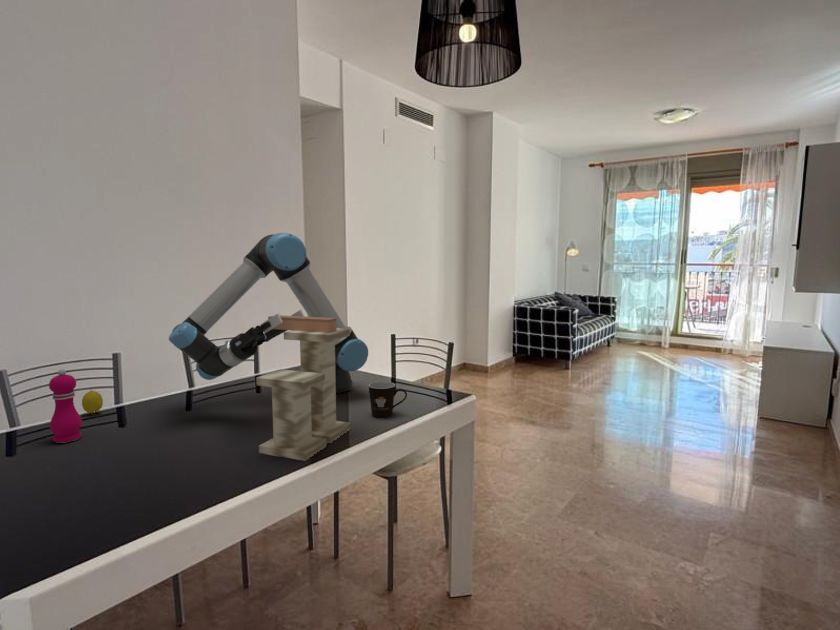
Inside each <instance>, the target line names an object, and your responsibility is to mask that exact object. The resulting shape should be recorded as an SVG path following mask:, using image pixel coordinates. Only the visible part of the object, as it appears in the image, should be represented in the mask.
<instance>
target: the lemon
mask: <svg viewBox="0 0 840 630" xmlns="http://www.w3.org/2000/svg"><path fill="white" fill-rule="evenodd" d="M103 404H104V400H103V396H102V395H101V393H100V392H98V391H95V390H92V389H90V390H89V391H88V392H86V393H85V394H84V395H83V396H82V400H81V406H82V409H83V410H84V411H85V412H86V413H89V414H91V413H95V412H94V411H96V413H97V412H99V411H100V410H101V409H102V408H103ZM96 413H95V414H96Z"/></svg>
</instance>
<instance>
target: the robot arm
mask: <svg viewBox="0 0 840 630" xmlns="http://www.w3.org/2000/svg"><path fill="white" fill-rule="evenodd" d="M310 267H311V261H310V259H309V258H308V256H307V250H306V246H305V244H304V242H303V241H302V240H301V238H299V237H298V236H297V235H295V234H291V233H288V232H278V233H274V234H269V235H266V236H264V237H262V238H261V239H260V240H259V241H258V242H257V243H256V244H255V245H254V246H253V248H251V250H249V252H248V253H247V254H246V255H245V256H244V257H243V262H242V263H241V264H240V265H239V266H238V267H237V269H235V270H234V271H233V272H232V273H231V274H230V275H229V276H228V277H227V278H226V279H225V280H224V281H223V282H222V283H221V284H220V285H219V286H218V287H217V288H216V289H215V290H214V291H213V292H211V294H210V295H209V296H208V297H207V298H206V299H204V301H203V302H202V303H200V305H199V306H198V307H197V308H196V309H194V311H192V313H191V314H190V315H188V317H187V318H186V319H184V320H183V321H182V322H181V323H179V324H177V325H175V327H174V328H172V331H171V333H170V334H169V336H168V341H169V342H170V343H171V344H172V345H173V346H174V347H175V348H177V349H178V350H180V351H181V352H182V353H184V354H185V355H186V356H187V357H189V358H190V359H192V360H193V361H194V362H195V363H196V365H195V368H196V372H197V373H198V374H199V376H200V378H202V379H204V380H208V381H211V380H214V379H217V378H218V377H221V376H223V375H224V374H225V373H227V372H229V371H230V370H231V369H233V368H235V367H237V366H239V365H240V364H242V363H244V362H245V361H246V360H248V359H249V358H251V357H252V356H254V355H255V354H256V353H257V349H258V347H259V346H261V345H263V343H267V342H270V340H273V339H274V338H276V337H278V336H280V335H282V334H284V332H287V331H288V330H280V329H273V328H274V327H276V326H278V325H279V324H281V323H282V320H281V318H280V316H279V315H280V314H279V313H276V314H274V315H272V316H273V317H271V318H270V319H268V318H267V320H265V321H264V322H262V323H261V324H259V325H256V326H255V327H250V328H249V329H248V330H247V331H246V332H244V333H239V334H237V335H236V336H234V337H232V339H231V340H225V342H224V344H222V345H220V346H217V345H216V344H215V343H214V342H212V341H211V340H210V339H209V338H208V337H207V336H205V335H206V334H207V333H208V331H210V330H211V328H213V327H214V325H216V323H217V322H218V321H220V319H222V317H224V315H226V313H228V311H230V309H232V308H233V307H234V305H235V304H236V303H238V302H239V300H240V299H242V297H243V296H244V295H245V294H247V292H248V291H249V290H250V289H251V288H253V286H254V285H255V284H256V283H257V282H259V280H260V279H266V278H267V277H268V275H269V274H271V273H272V272H273V273H274V274H275V276H276V277H277V279H278V280H279V281H280V282H283V283H286V284H287V285H288V287H289V288H290V290H291V292H292V293H293V294H294V295H295V298H296V299H297V300H298V302H299V303H300V305H301V306H302V308H303V309H299V310H298V311H295V312H294V313H293V314H291V315H290V316H302V317H306V316H305V313H306V314H307V317H322V318H336V324H337V328H341V329H350V336H348V337H344V338H341V339H338V340H335V379H336V393H338V394H342V393H341V392H344V393H346V392H345V391H348V390H350V389H352V388H353V387H354V384H353V380H352V377H351V374H350V372H355V371H356V372H357V371H358V370H360V369H361V368H362V367H363V366H364V365H365V364H366V362H367V360H368V357H369V349H368V348H369V347H368V345H367V344H366V343H365V341H363V340H362V339H360V338H358V337H357V335H356V333H355V332H354V330H353V329H352V326H347V325H345V324H344V322H343V321H342V320H341V319H342V318H340V316H339V315H338V312H337V311H336V309H335V308H334V306H333V305H332V303H331V302H330V300H329V299H328V297H327V296H326V294H325V292H324V290H323V289H322V288H321V286H320V284H319V282H318V280H317V279H316V278H315V276H314V274H313V273H312V271H311V270H310ZM303 310H304V311H305V313H304V312H303ZM353 389H354V388H353ZM353 389H352V390H353ZM350 391H351V390H350ZM348 392H349V391H348Z"/></svg>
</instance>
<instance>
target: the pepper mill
mask: <svg viewBox="0 0 840 630" xmlns="http://www.w3.org/2000/svg"><path fill="white" fill-rule="evenodd" d="M66 373H67V371H66V369H62V368H61V369H58V371H57V375H56V376H53V377H52V378H51V379H50V381H49V382H48V387H49V390H50V391H51V392H52V394H51V396H52V400H54V412H53V415H52V417H51V419H50V423H49V430H50V431H51V432H52V433H53V434H54V435H53V436H52V441H54V442H68V441H72V440H75V439H78V438H80V437H81V438H82V432H81V431H82V430H81V431H80V429H81V427H82V425H83V420H82V419H83V418H82V417H81V415H80V414H79V412H78V410H77V409H76V407H75V403H74V397H75V396H76V394H75V393H76V391H75V390H74V389H75V388H76V387H77V380H76V378H75V377H74V376H72V375H71V374H66ZM81 438H80V439H81ZM54 442H53V443H54Z"/></svg>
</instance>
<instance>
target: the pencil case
mask: <svg viewBox="0 0 840 630" xmlns="http://www.w3.org/2000/svg"><path fill="white" fill-rule="evenodd" d="M273 316H274V315H271V316H270V315H269V316H268V317H267V320H268V319H270V318H271V317H273ZM279 316H280V318H281V320H282V323H281V324H279V325H278V326H276V327H274V328H273V329H280V330H287V331H291V330H297V331H313V332H333V331H337V324H336V318H322V317H309V316H305V317H302V316H291V315H282V314H281V315H280V314H279Z"/></svg>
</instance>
